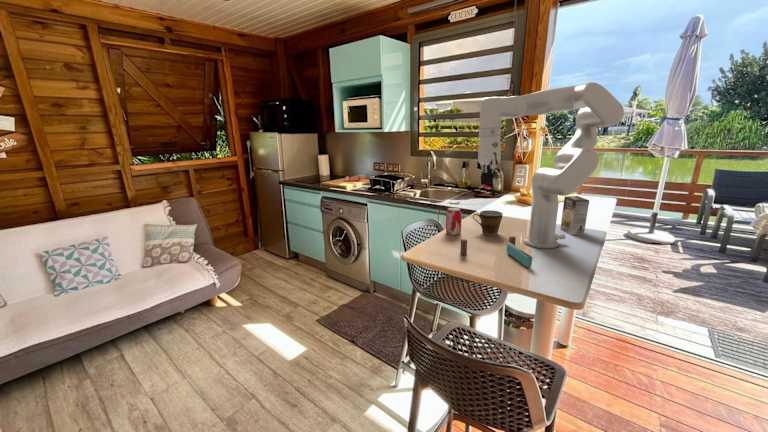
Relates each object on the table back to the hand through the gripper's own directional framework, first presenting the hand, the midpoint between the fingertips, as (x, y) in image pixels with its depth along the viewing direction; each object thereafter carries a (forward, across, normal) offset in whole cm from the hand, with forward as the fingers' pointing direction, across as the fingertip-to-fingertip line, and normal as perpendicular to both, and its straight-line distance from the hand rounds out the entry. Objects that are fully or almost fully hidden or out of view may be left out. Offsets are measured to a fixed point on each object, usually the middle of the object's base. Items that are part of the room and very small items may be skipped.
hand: (486, 182), depth 116 cm
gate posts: (+27, -4, 0) cm, 27 cm away
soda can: (+27, +22, +5) cm, 35 cm away
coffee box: (+27, +14, -49) cm, 58 cm away
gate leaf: (+27, -12, -8) cm, 30 cm away
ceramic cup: (+27, +19, -10) cm, 35 cm away
